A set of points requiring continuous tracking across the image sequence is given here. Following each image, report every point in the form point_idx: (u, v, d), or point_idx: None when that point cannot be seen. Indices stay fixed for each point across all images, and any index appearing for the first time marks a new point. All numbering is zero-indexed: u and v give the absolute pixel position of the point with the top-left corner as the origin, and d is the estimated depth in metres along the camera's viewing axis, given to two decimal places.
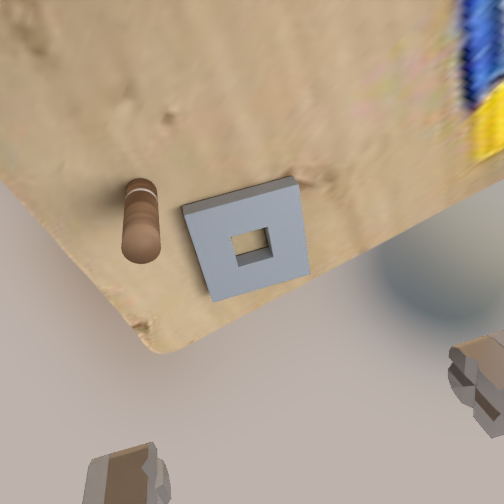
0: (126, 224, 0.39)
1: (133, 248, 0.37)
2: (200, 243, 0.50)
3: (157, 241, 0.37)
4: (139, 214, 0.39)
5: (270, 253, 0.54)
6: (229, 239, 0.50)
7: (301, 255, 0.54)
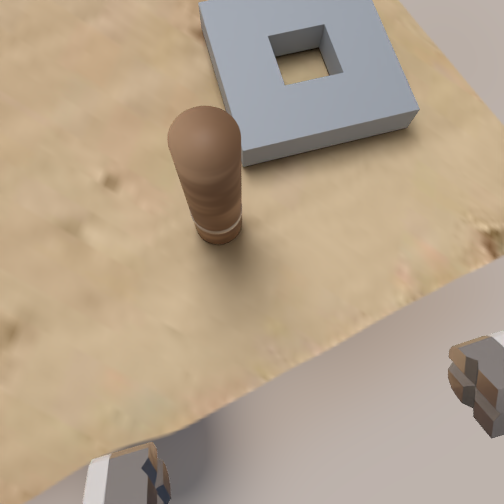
0: (185, 184, 0.21)
1: (203, 151, 0.19)
2: (295, 128, 0.30)
3: (192, 110, 0.20)
4: None
5: (322, 34, 0.34)
6: (289, 87, 0.31)
7: None
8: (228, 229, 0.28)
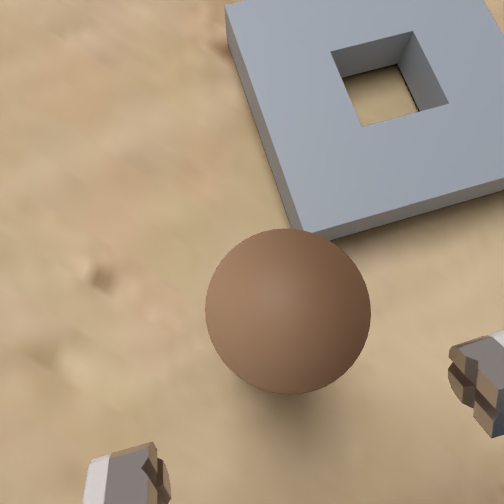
0: None
1: (287, 340, 0.08)
2: (384, 194, 0.20)
3: (255, 240, 0.09)
4: None
5: (407, 46, 0.23)
6: (368, 128, 0.21)
7: None
8: None
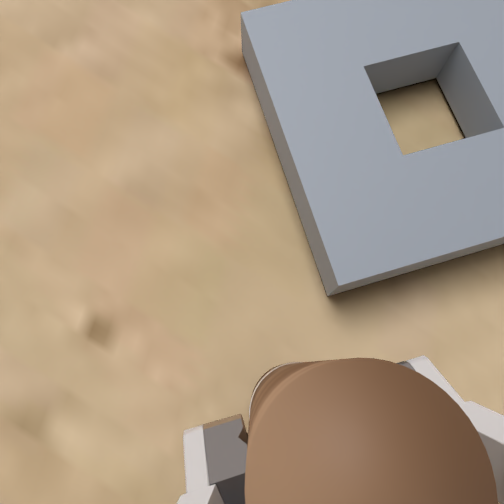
0: None
1: None
2: (431, 236, 0.17)
3: (317, 377, 0.06)
4: None
5: (451, 59, 0.20)
6: (411, 157, 0.18)
7: None
8: None
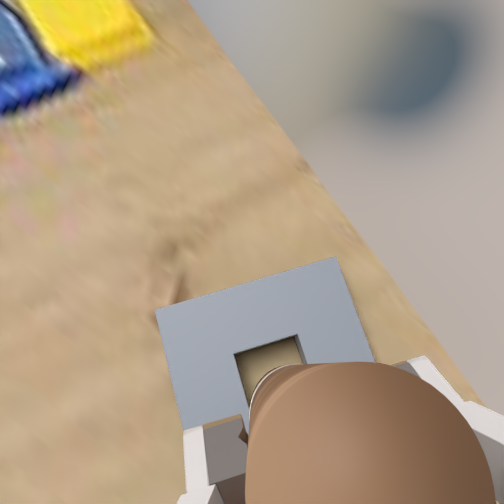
0: None
1: None
2: None
3: (317, 380, 0.06)
4: None
5: (296, 337, 0.30)
6: None
7: (294, 281, 0.30)
8: None
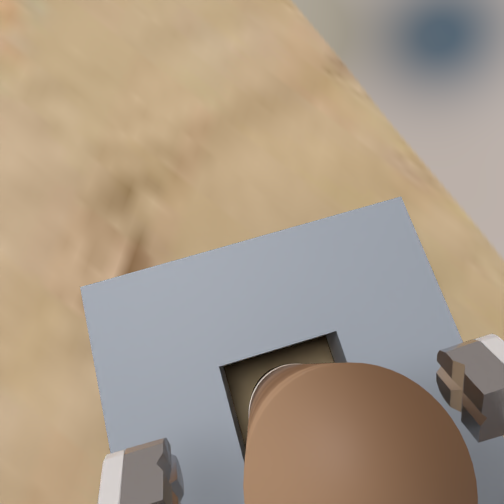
0: None
1: None
2: None
3: (311, 380, 0.07)
4: None
5: (333, 336, 0.17)
6: None
7: (329, 238, 0.17)
8: None
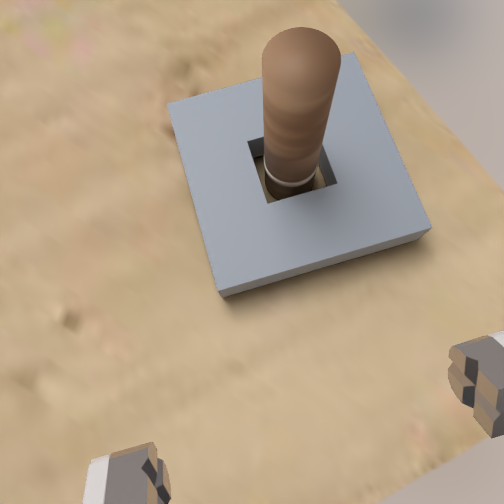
0: (274, 118, 0.20)
1: (301, 72, 0.18)
2: (280, 258, 0.25)
3: (285, 32, 0.18)
4: (263, 108, 0.21)
5: None
6: (272, 205, 0.26)
7: None
8: (305, 180, 0.26)
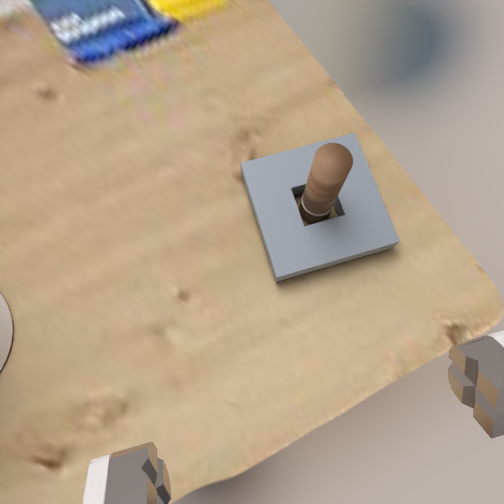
0: (317, 185, 0.38)
1: (333, 167, 0.36)
2: (312, 258, 0.44)
3: (325, 145, 0.37)
4: (309, 177, 0.40)
5: None
6: (307, 227, 0.45)
7: None
8: (326, 213, 0.45)
